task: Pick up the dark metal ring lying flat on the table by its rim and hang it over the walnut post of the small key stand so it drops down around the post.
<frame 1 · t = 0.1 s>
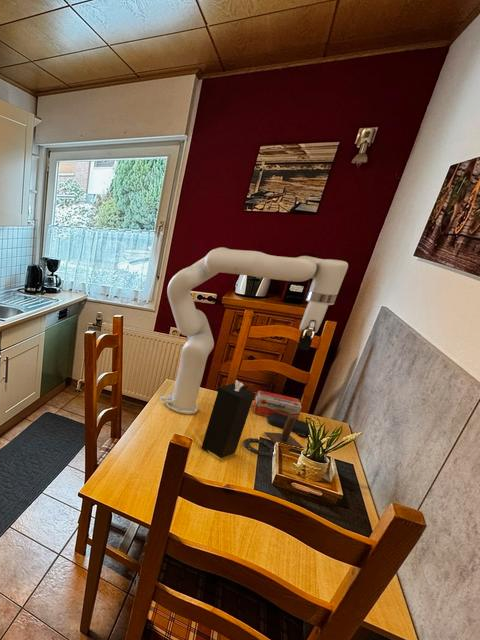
hand: (303, 345, 136), 37 cm above the table, tool pointing down, fingers open, 9 cm apart
tissue box: (217, 452, 139), on the table
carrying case: (288, 429, 156), on the table
ring: (259, 447, 140), point 1 cm above the table
medicine box: (273, 414, 166), on the table
post: (282, 442, 146), on the table
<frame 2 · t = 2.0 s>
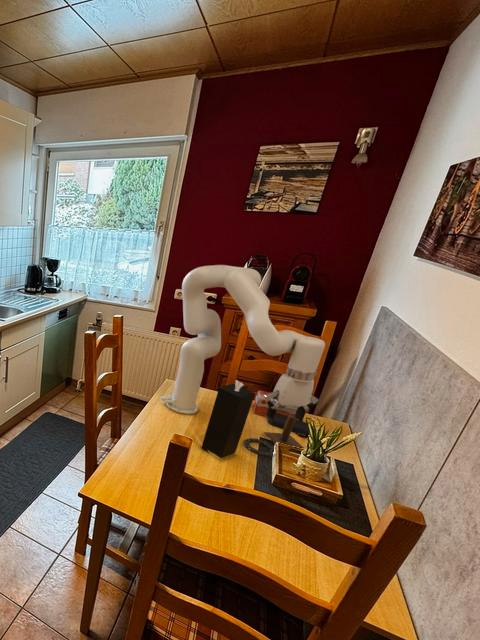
hand: (284, 418, 135), 14 cm above the table, tool pointing down, fingers open, 9 cm apart
nothing on the table moved.
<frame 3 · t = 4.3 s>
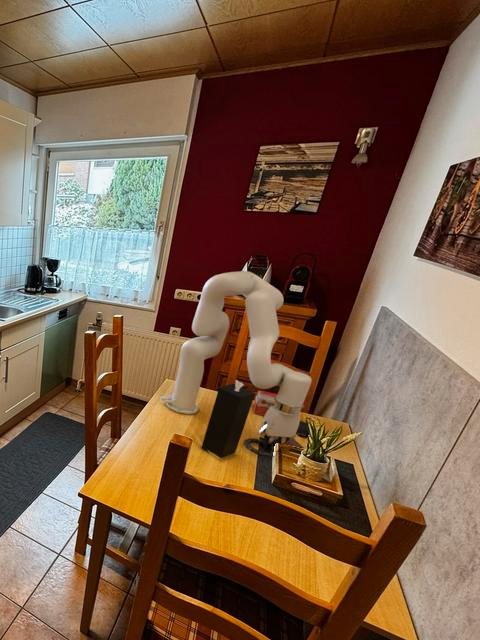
hand: (270, 450, 141), 0 cm above the table, tool pointing down, fingers closed on ring, 2 cm apart
ring: (259, 447, 140), point 1 cm above the table, touching gripper
everything else where it was.
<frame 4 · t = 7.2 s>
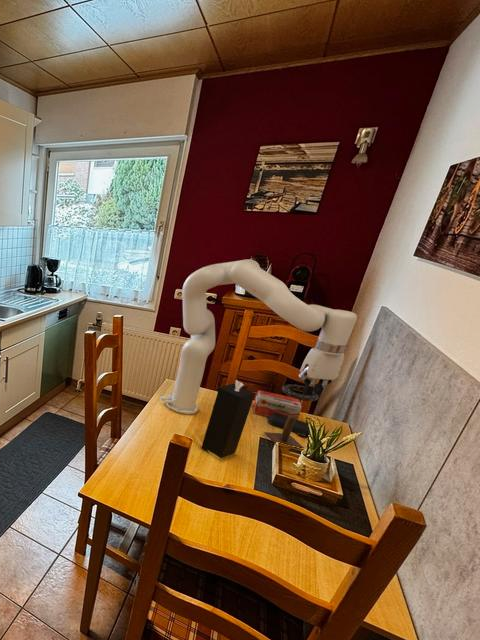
hand: (310, 395, 137), 21 cm above the table, tool pointing down, fingers closed on ring
ring: (299, 392, 137), point 22 cm above the table, touching gripper
everything else where it was.
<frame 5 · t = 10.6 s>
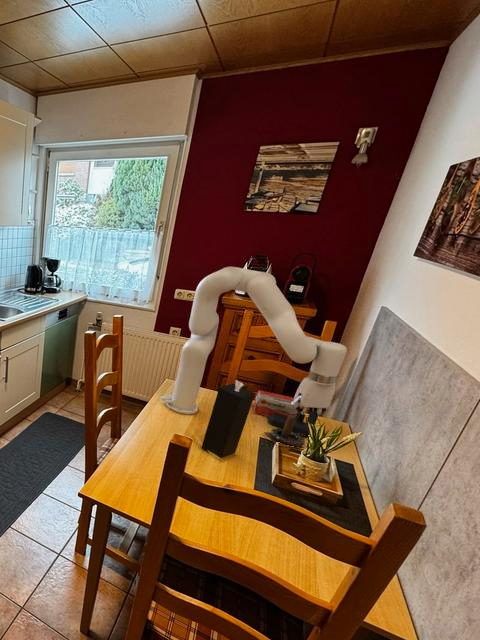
hand: (304, 422, 142), 10 cm above the table, tool pointing down, fingers open, 3 cm apart
ring: (287, 437, 145), point 3 cm above the table, touching post
everything else where it was.
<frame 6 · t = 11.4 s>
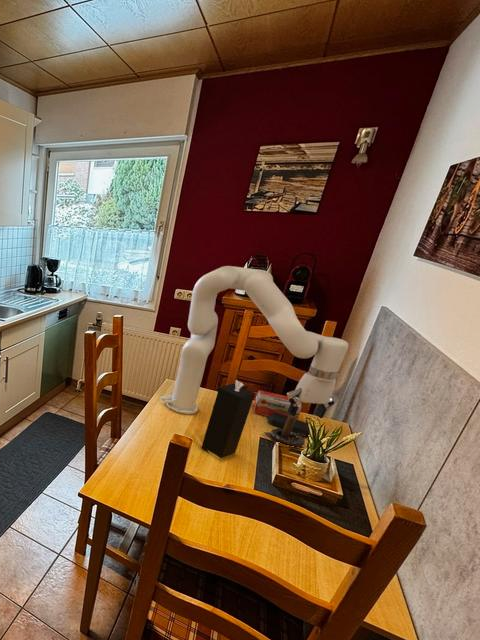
hand: (304, 415, 141), 12 cm above the table, tool pointing down, fingers open, 9 cm apart
nothing on the table moved.
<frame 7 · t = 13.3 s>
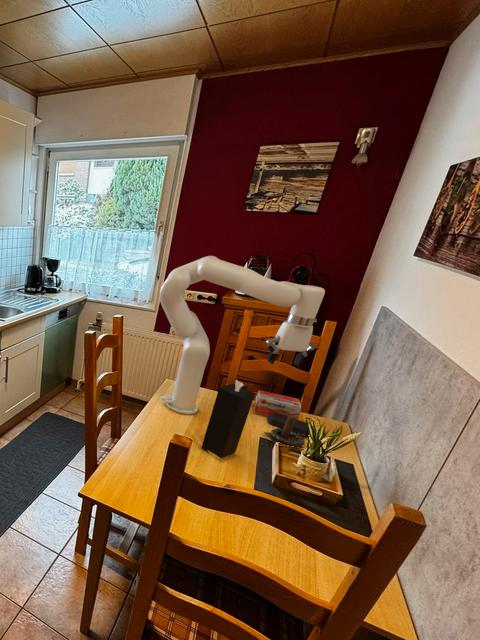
hand: (283, 363, 146), 27 cm above the table, tool pointing down, fingers open, 9 cm apart
nothing on the table moved.
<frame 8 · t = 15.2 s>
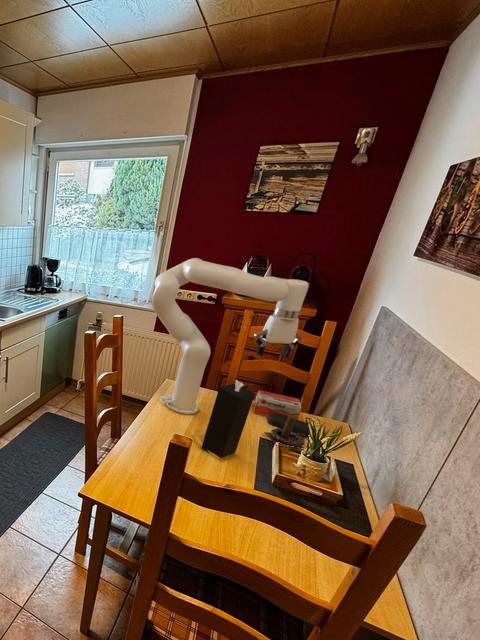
hand: (271, 356, 151), 28 cm above the table, tool pointing down, fingers open, 9 cm apart
nothing on the table moved.
at the end: ring 1.0 cm from the post (horizontally); ring point 2.5 cm above the table; the gripper is holding nothing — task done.
